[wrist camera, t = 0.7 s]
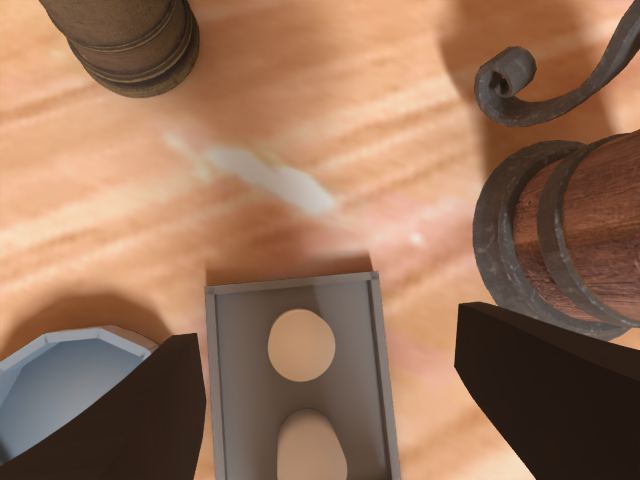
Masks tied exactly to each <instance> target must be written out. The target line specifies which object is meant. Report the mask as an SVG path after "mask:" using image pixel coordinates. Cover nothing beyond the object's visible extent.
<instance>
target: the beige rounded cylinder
mask: <svg viewBox="0 0 640 480" xmlns="http://www.w3.org/2000/svg"><path fill="white" fill-rule="evenodd" d="M334 354H335V338H334V335H333V332H332V330H331V328H330V327H329V325H328V324H327V323H326V322H325V321H324V320H323V319H322V318H320V317H319V316H318V315H316V314H315V313H313V312H312V311H310V310H308V309H304V308H293V309H289V310H287V311H285V312H283V313H282V314H280V315H279V316H278V317H277V318H276V320H275V321H274V323H273V325H272V327H271V331H270V335H269V340H268V355H269V359H270V361H271V363H272V365H273V367H274V368H275V370H276V371H277V372H278V373H279V374H281V375H282V376H283V377H285V378H287V379H289V380H292V381H299V382H303V381H309V380H312V379H315V378H317V377H319V376H320V375H322V374H323V373H324V372H325V371H326V370H327V369H328V367H329V366H330V364H331V362H332V360H333V357H334Z"/></svg>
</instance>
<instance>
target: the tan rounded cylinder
mask: <svg viewBox="0 0 640 480" xmlns="http://www.w3.org/2000/svg"><path fill="white" fill-rule="evenodd" d="M277 478H278V480H346V478H347V463H346V459H345V456H344V454H343V451H342V448H341V446H340V443H339V441H338V438H337V435H336V433H335V430H334V428H333V425H332V423H331V422H330V420H329V419H328V417H326V416H325V415H324V414H323V413H321V412H320V411H317V410H314V409H301V410H298V411H296V412H294V413H292V414H291V415H289V416H288V417H287V418H286V419H285V420H284V422H283V423H282V425H281V427H280V430H279V433H278V455H277Z"/></svg>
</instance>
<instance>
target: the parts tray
mask: <svg viewBox="0 0 640 480" xmlns="http://www.w3.org/2000/svg"><path fill="white" fill-rule="evenodd" d="M205 303H206V321H207V338H208V356H209V373H210V390H211V408H212V425H213V443H214V460H215V477H216V480H278V478H277V455H278V433H279V430H280V427H281V425H282V423H283V422H284V420H285V419H286V418H287V417H288V416H289V415H291V414H292V413H294V412H296V411H298V410H301V409H314V410H317V411H320V412H321V413H323V414H324V415H325V416H326V417H328V419H329V420H330V422H331V423H332V425H333V428H334V430H335V433H336V435H337V438H338V441H339V443H340V446H341V448H342V451H343V454H344V456H345V459H346V463H347V478H346V480H401V474H400V465H399V456H398V447H397V438H396V428H395V419H394V410H393V401H392V392H391V383H390V374H389V364H388V355H387V346H386V337H385V328H384V319H383V310H382V300H381V291H380V282H379V273H378V271H371V272H360V273H349V274H338V275H327V276H316V277H305V278H294V279H283V280H272V281H261V282H250V283H239V284H228V285H217V286H206V287H205ZM293 308H304V309H308V310H310V311H312V312H313V313H315V314H316V315H318V316H319V317H320V318H322V319H323V320H324V321H325V322H326V323H327V324H328V325H329V327H330V328H331V330H332V332H333V335H334V338H335V354H334V357H333V360H332V362H331V364H330V366H329V367H328V369H327V370H326V371H325V372H324V373H323V374H322V375H320V376H319V377H317V378H315V379H312V380H309V381H303V382H299V381H292V380H289V379H287V378H285V377H283V376H282V375H281V374H279V373H278V372H277V371H276V370H275V368H274V367H273V365H272V363H271V361H270V359H269V355H268V340H269V335H270V331H271V327H272V325H273V323H274V321H275V320H276V318H277V317H278V316H279V315H280V314H282V313H283V312H285V311H287V310H289V309H293Z"/></svg>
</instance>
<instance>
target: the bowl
mask: <svg viewBox="0 0 640 480" xmlns="http://www.w3.org/2000/svg"><path fill="white" fill-rule="evenodd" d="M158 347H159V345H158V344H156V343H154V342H153V341H151V340H150V339H148V338H146V337H145V336H143V335H141V334H139V333H136V332H133V331H131V330H128V329H123V328H120V327H118V326H115V325H106V326H92V327H86V328H76V329H66V330H59V331H54V332H49V333H45V334H43V335H41V336H39V337H38V338H36V339H35V340H33V341H32V342H30V343H29V344H27V345H26V346H24V347H23V348H21V349H19V350H18V351H16V352H15V353H13V354H12V355H10V356H9V357H7V358H6V359H4V360H3V361H1V362H0V466H1V465H3V464H5V463H6V462H8V461H10V460H11V459H13V458H15V457H16V456H18V455H20V454H21V453H23V452H25V451H26V450H28V449H29V448H31V447H33V446H34V445H36V444H37V443H39V442H40V441H42V440H43V439H45V438H46V437H48V436H49V435H50V434H52V433H53V432H55V431H56V430H58V429H59V428H61V427H62V426H64V425H65V424H66V423H68V422H69V421H71V420H72V419H73V418H75V417H76V416H78V415H79V414H80V413H82V412H83V411H84V410H85V409H87V408H88V407H89V406H91V405H92V404H93V403H94V402H96V401H97V400H98V399H99V398H100V397H102V396H103V395H104V394H105V393H107V392H108V391H109V390H110V389H112V388H113V387H114V386H115V385H116V384H118V383H119V382H120V381H121V380H123V379H124V378H125V377H126V376H127V375H128V374H129V373H131V372H132V371H133V370H134V369H135V368H136V367H137V366H138V365H139V364H141V363H142V362H143V361H144V360H145V359H146V358H147V357H148V356H149V355H151V354H152V353H153V352H154V351H155V350H156V349H157V348H158Z"/></svg>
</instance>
